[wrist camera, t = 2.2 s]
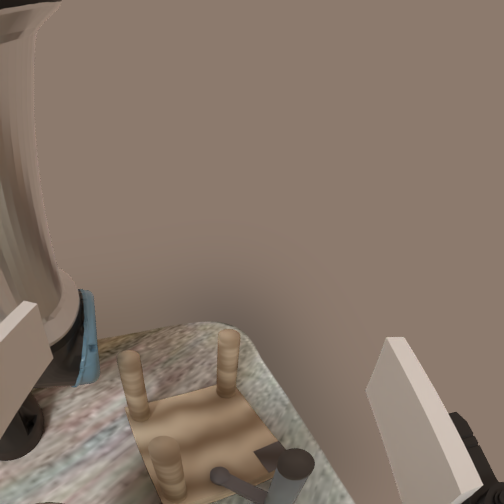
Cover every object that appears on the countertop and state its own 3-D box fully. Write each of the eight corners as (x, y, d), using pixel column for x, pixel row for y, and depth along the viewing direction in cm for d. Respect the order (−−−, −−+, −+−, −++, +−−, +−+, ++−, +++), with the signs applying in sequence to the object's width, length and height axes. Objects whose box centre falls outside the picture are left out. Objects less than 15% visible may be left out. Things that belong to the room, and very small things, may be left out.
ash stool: (127, 417, 41) (110, 350, 36) (230, 390, 50) (235, 324, 45) (168, 515, 27) (150, 469, 22) (291, 468, 36) (313, 409, 31)
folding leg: (203, 481, 31) (201, 432, 26) (219, 464, 34) (221, 411, 29) (283, 521, 26) (305, 482, 22) (295, 501, 29) (320, 456, 24)
